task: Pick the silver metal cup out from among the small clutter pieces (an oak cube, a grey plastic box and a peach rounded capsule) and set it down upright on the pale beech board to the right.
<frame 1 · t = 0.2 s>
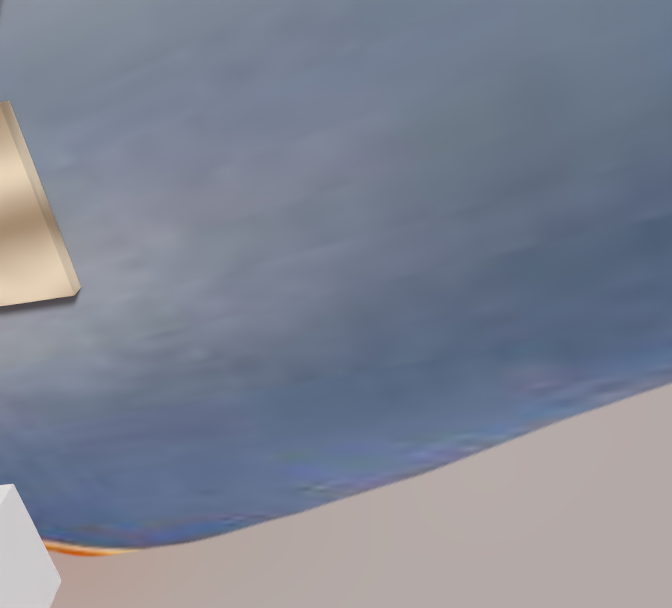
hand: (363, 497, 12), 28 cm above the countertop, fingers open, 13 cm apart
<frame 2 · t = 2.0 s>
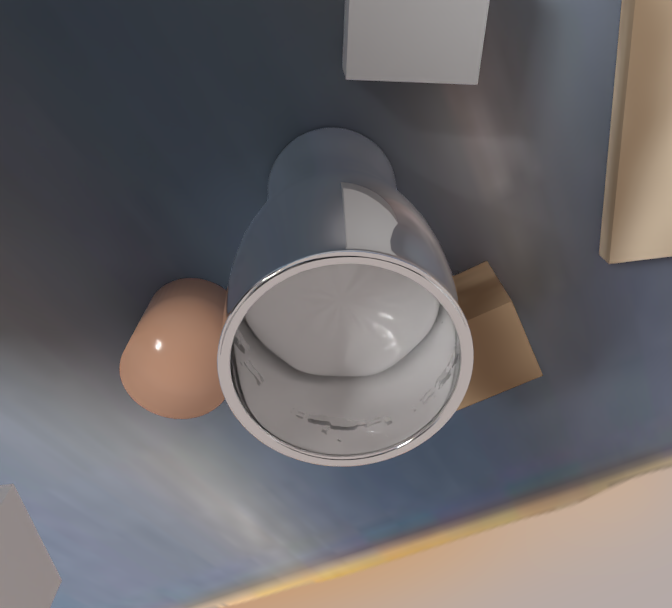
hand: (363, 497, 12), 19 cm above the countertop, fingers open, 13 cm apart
silver metal cup: (331, 190, 29), on the countertop
grey plastic box: (404, 5, 25), on the countertop
oak cube: (461, 312, 32), on the countertop
peach rounded capsule: (195, 320, 32), on the countertop
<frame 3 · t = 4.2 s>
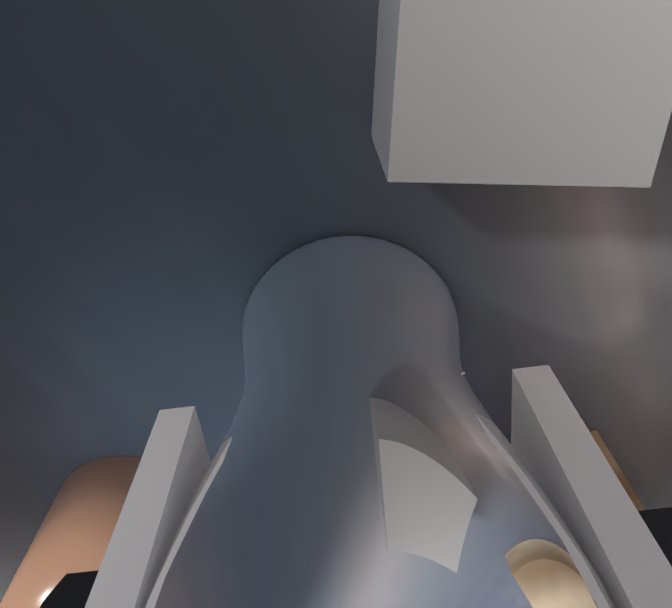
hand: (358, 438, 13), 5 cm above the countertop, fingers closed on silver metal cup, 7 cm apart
silver metal cup: (349, 330, 17), on the countertop, touching gripper
grey plastic box: (486, 26, 14), on the countertop
oak cube: (548, 498, 21), on the countertop
peach rounded capsule: (133, 512, 20), on the countertop
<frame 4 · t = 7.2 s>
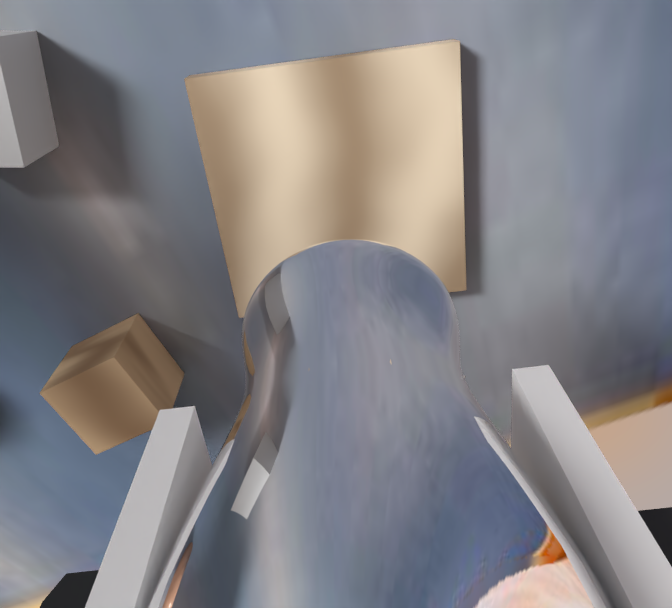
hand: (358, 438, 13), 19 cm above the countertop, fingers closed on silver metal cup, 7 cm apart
silver metal cup: (349, 332, 17), point 14 cm above the countertop, touching gripper
beech board: (337, 186, 30), on the countertop
oak cube: (129, 359, 34), on the countertop
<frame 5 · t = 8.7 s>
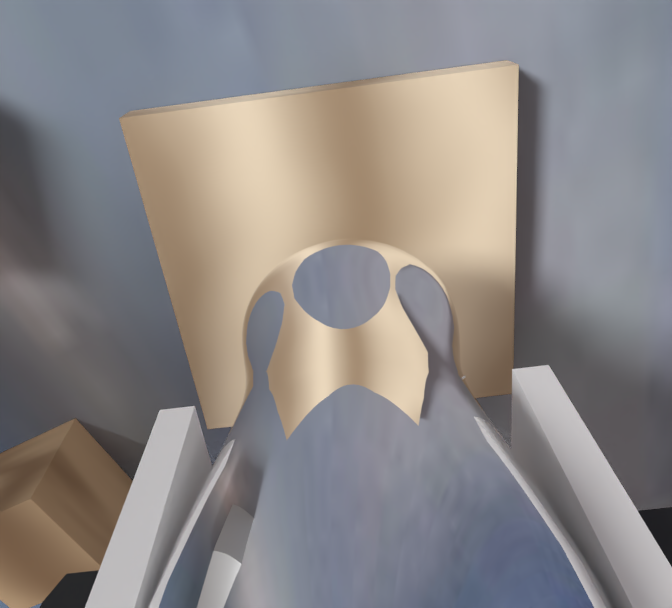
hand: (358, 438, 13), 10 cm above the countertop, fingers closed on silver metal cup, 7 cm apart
silver metal cup: (350, 332, 17), point 5 cm above the countertop, touching gripper
beech board: (339, 259, 22), on the countertop
oak cube: (67, 472, 26), on the countertop
when the fingers open (7 cm above the countertop, at t = 10.1 s): silver metal cup stays where it is, resting on beech board.
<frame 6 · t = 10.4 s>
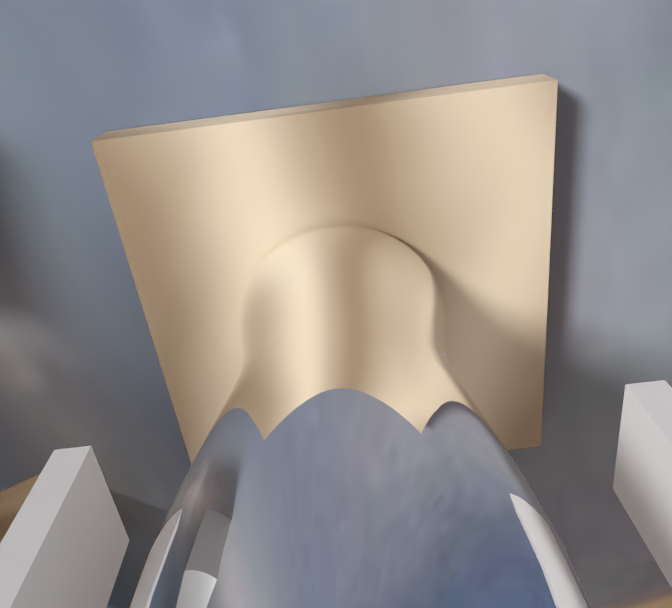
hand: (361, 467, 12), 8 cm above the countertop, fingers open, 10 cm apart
silver metal cup: (342, 315, 18), point 1 cm above the countertop, touching beech board
beech board: (346, 297, 19), on the countertop
oak cube: (43, 526, 24), on the countertop
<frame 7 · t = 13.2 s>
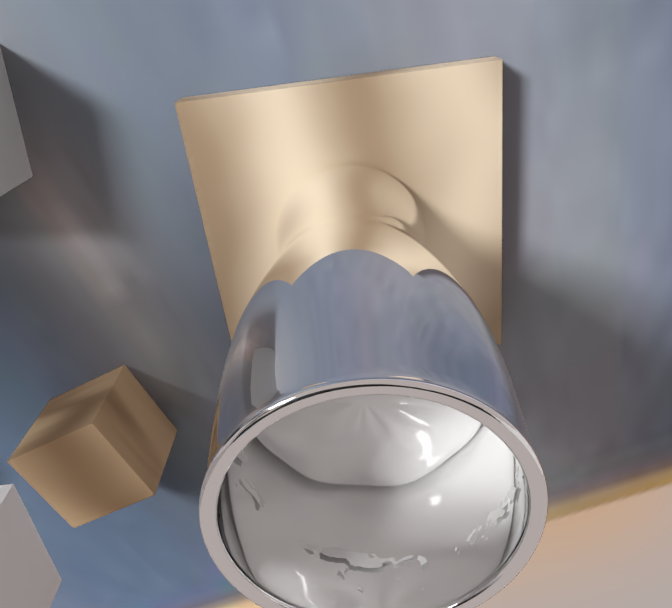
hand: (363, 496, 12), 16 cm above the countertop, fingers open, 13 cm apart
silver metal cup: (350, 235, 25), point 1 cm above the countertop, touching beech board
beech board: (353, 225, 26), on the countertop
oak cube: (115, 414, 30), on the countertop
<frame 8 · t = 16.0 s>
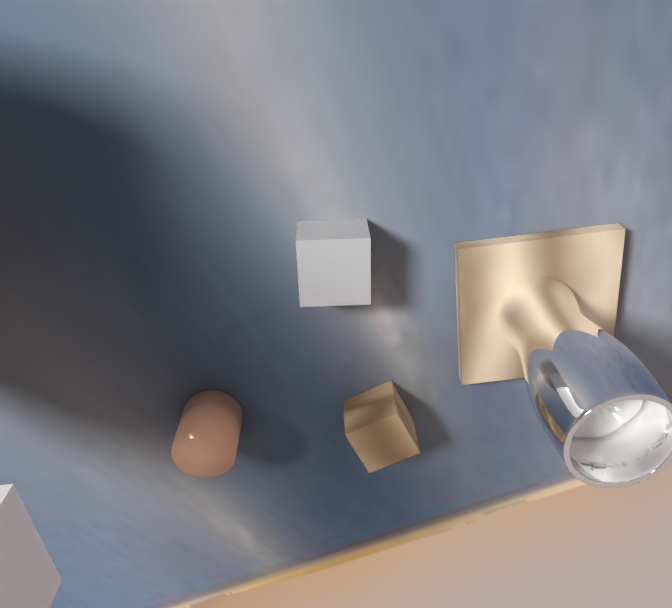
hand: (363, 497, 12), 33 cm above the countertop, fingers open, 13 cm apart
silver metal cup: (535, 311, 46), point 1 cm above the countertop, touching beech board
beech board: (533, 304, 47), on the countertop
grey plastic box: (333, 251, 45), on the countertop
oak cube: (378, 409, 52), on the countertop
peach rounded capsule: (213, 414, 51), on the countertop
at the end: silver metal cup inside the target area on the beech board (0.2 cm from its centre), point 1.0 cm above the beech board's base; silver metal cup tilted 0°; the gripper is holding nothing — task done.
